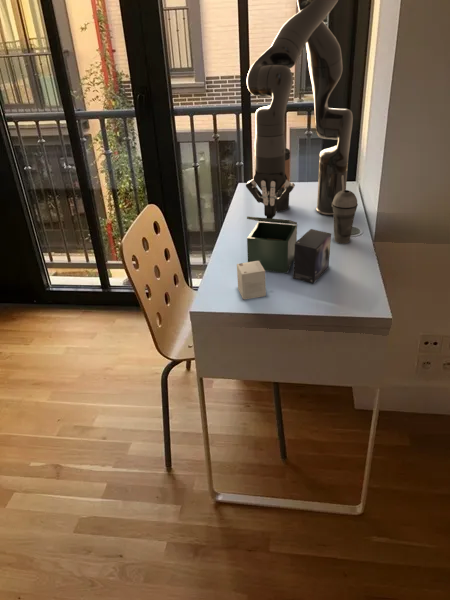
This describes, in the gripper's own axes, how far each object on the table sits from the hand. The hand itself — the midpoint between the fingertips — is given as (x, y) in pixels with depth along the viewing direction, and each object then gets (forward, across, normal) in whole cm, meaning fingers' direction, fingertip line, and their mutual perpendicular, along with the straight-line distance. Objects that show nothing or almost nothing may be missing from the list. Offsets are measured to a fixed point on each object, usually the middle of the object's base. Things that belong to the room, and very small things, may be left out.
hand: (270, 217), depth 134 cm
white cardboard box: (+15, +1, +15) cm, 21 cm away
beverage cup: (+14, -17, -21) cm, 30 cm away
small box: (+15, -12, +2) cm, 19 cm away
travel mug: (+14, +8, -43) cm, 46 cm away
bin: (+14, 0, -3) cm, 15 cm away
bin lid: (+2, 0, -3) cm, 4 cm away
